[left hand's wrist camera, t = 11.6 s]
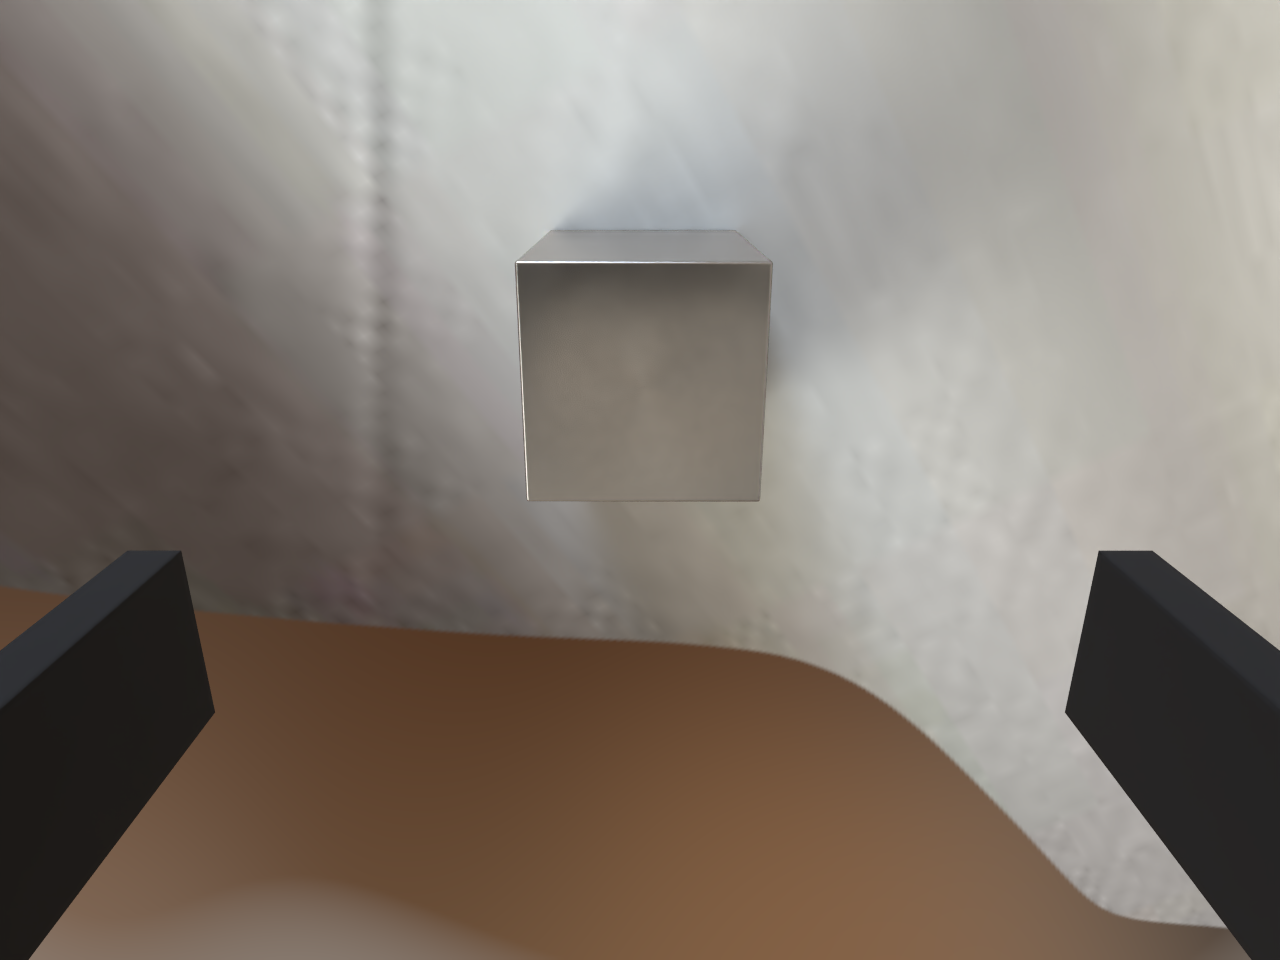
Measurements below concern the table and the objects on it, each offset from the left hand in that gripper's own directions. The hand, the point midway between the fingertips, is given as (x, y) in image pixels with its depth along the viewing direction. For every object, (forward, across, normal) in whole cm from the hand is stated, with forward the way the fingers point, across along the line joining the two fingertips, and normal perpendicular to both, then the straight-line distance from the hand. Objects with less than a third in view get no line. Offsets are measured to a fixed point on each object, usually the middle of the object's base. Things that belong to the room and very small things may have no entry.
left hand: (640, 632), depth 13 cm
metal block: (+24, 0, 0) cm, 24 cm away
